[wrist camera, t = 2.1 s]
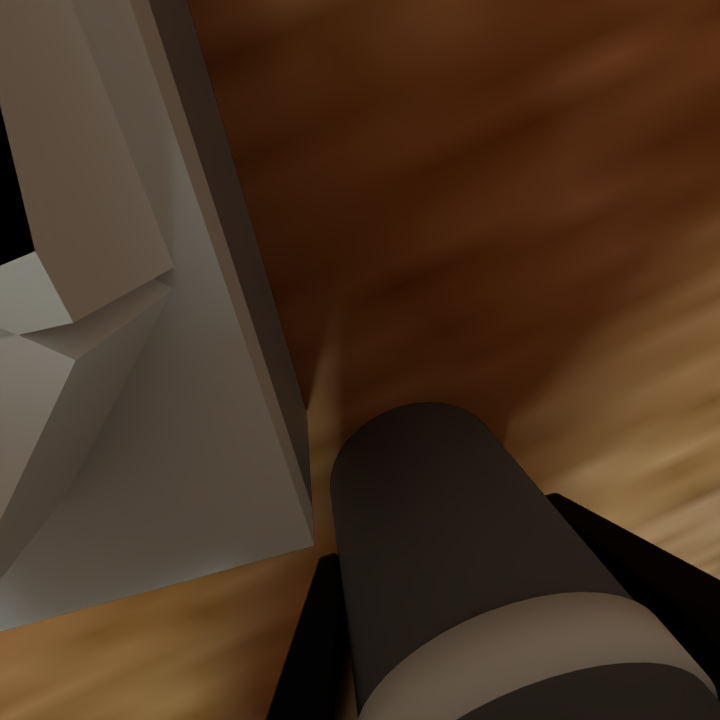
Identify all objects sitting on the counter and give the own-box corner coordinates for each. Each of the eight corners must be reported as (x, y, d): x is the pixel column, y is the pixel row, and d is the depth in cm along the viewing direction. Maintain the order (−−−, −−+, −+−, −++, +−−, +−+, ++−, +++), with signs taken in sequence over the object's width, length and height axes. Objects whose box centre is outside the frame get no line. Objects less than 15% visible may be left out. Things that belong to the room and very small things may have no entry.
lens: (503, 519, 12) (747, 891, 6) (346, 562, 12) (411, 1013, 5) (497, 379, 10) (877, 713, 3) (306, 426, 10) (331, 901, 3)
